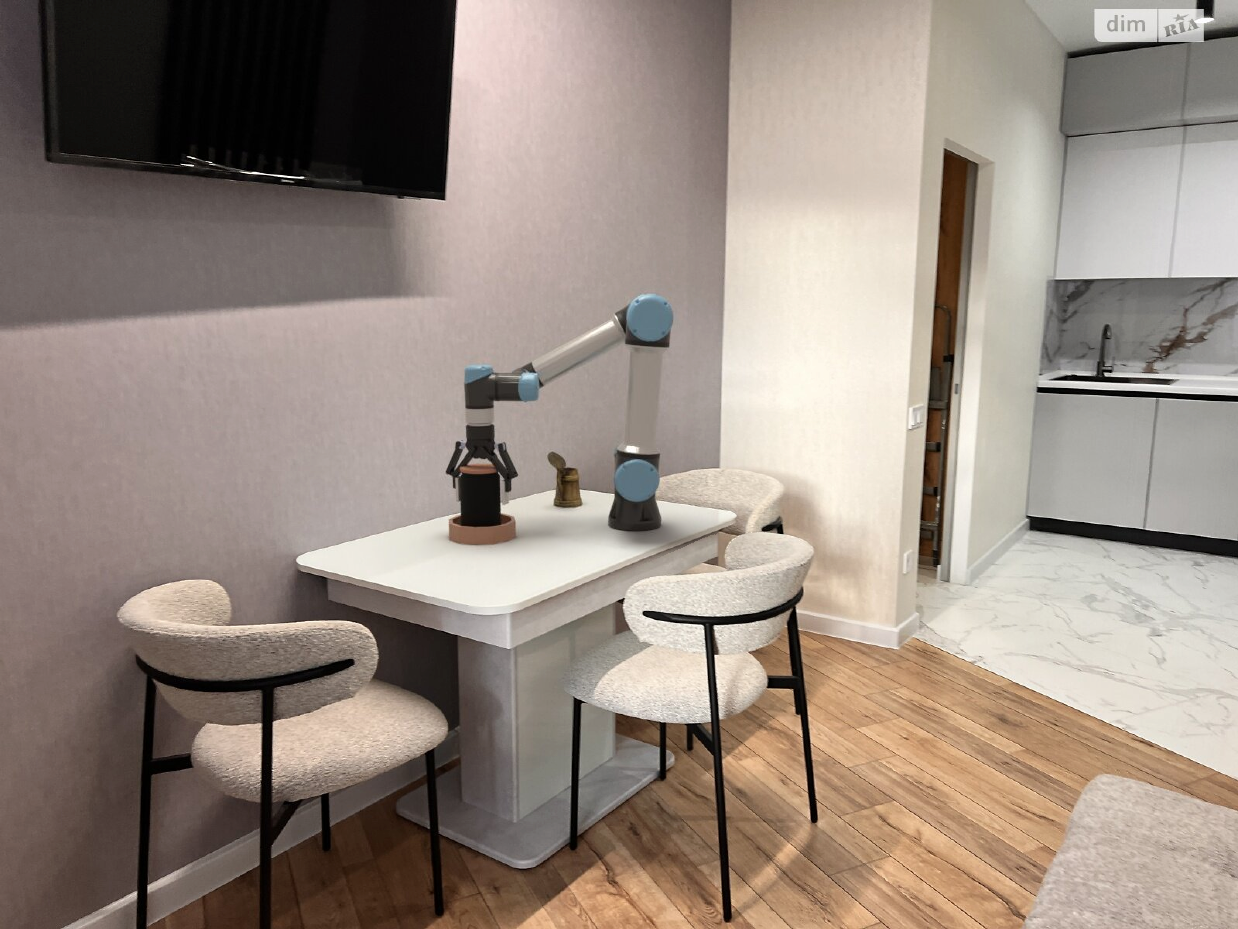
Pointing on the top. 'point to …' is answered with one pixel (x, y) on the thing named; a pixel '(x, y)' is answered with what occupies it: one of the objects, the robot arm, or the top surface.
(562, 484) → the wooden mug
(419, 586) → the top surface
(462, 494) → the coffee jar
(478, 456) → the robot arm
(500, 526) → the terracotta bowl
